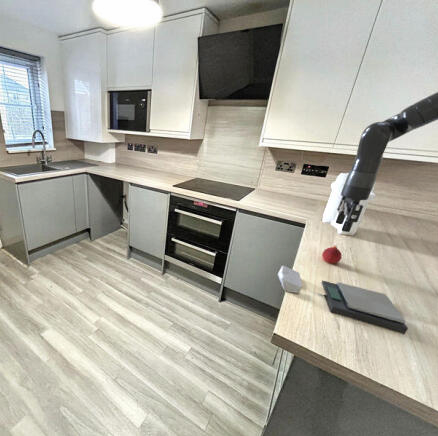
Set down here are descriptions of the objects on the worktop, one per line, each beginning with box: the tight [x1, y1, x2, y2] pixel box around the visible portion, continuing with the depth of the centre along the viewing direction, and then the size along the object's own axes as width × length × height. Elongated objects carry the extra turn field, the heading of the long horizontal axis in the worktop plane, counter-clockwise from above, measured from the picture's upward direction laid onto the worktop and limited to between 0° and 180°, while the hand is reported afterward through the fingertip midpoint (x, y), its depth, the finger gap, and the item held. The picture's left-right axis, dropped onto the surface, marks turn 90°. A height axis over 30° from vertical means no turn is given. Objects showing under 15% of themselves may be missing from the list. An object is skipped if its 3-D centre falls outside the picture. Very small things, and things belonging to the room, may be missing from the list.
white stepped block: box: [322, 172, 376, 236], centre depth 125 cm, size 27×11×30 cm, turn 168°
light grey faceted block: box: [277, 265, 303, 294], centre depth 77 cm, size 10×6×6 cm, turn 149°
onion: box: [322, 244, 343, 265], centre depth 91 cm, size 6×6×8 cm
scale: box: [321, 280, 409, 335], centre depth 69 cm, size 16×14×2 cm
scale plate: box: [335, 281, 406, 324], centre depth 68 cm, size 12×12×1 cm
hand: (341, 227), depth 87 cm, fingers open, 8 cm apart
